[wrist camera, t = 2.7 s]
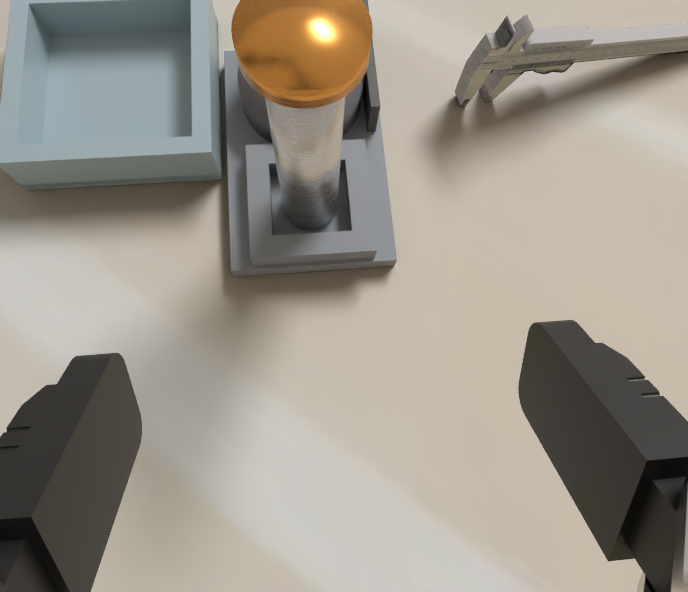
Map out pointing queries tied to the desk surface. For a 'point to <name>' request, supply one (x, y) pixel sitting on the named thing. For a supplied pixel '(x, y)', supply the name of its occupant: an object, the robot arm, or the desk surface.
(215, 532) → the desk surface
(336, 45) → the pin
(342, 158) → the plate
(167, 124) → the tray
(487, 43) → the caliper
